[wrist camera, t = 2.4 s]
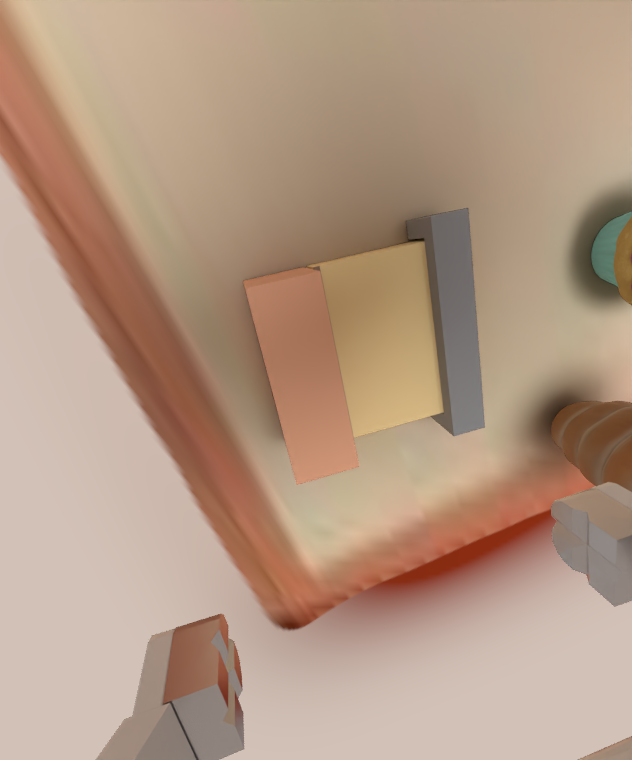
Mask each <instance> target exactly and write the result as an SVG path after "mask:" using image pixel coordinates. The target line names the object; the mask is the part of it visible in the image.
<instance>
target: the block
mask: <svg viewBox="0 0 632 760" xmlns="http://www.w3.org/2000/svg"><path fill="white" fill-rule="evenodd" d="M243 283H244V287H245V291H246V294H247V298H248V302H249V306H250V310H251V313H252V317H253V321H254V325H255V329H256V332H257V336H258V340H259V344H260V347H261V351H262V355H263V359H264V363H265V366H266V370H267V374H268V378H269V382H270V385H271V389H272V393H273V397H274V401H275V404H276V408H277V412H278V416H279V419H280V423H281V427H282V431H283V435H284V438H285V442H286V446H287V450H288V453H289V457H290V461H291V465H292V469H293V472H294V476H295V480H296V484H297V485H298V484H301V483H305V482H308V481H312V480H315V479H319V478H322V477H325V476H329V475H332V474H336V473H339V472H342V471H346V470H349V469H353V468H356V467H359V463H358V458H357V453H356V448H355V443H354V438H353V433H352V428H351V423H350V418H349V413H348V408H347V403H346V398H345V393H344V388H343V383H342V378H341V373H340V368H339V363H338V358H337V353H336V348H335V343H334V338H333V333H332V328H331V323H330V318H329V313H328V308H327V303H326V298H325V293H324V288H323V283H322V278H321V273H320V271H317V270H313V269H308V268H304V267H301V268H297V269H292V270H288V271H284V272H279V273H275V274H271V275H266V276H262V277H258V278H253V279H249V280H245V281H243Z"/></svg>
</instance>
